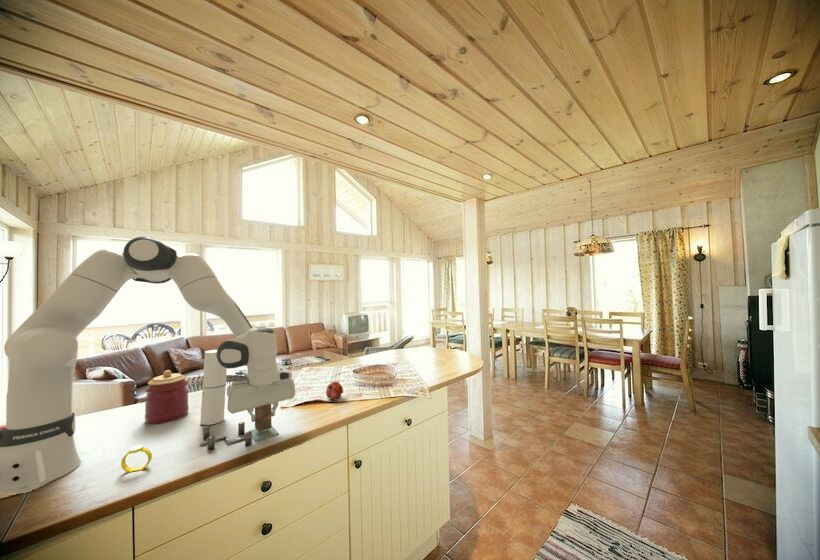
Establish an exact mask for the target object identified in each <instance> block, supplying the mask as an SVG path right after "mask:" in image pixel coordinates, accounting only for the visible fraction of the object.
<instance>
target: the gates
mask: <svg viewBox="0 0 820 560" xmlns="http://www.w3.org/2000/svg"><path fill="white" fill-rule="evenodd" d="M245 427H246V426H245V422H244V421H242V422H241V421H240V422H239V423H238V425H237V428H238V430H237V431H238V432H237V433H238V434H237V435H238V436H243V435H244V437H245V439H244V446H246V447H249V446H252V445H253V438H252V432H248V431H247V432H245ZM210 429H211V427H210V425H204V427H203V428H202V440H205V441H207V444H206V447H207V451H208V450H210V451H212V450H215V448H216V447H215V445H216V444H215V442H216V441H215V439H216V438H215V435H211V431H210Z"/></svg>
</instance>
